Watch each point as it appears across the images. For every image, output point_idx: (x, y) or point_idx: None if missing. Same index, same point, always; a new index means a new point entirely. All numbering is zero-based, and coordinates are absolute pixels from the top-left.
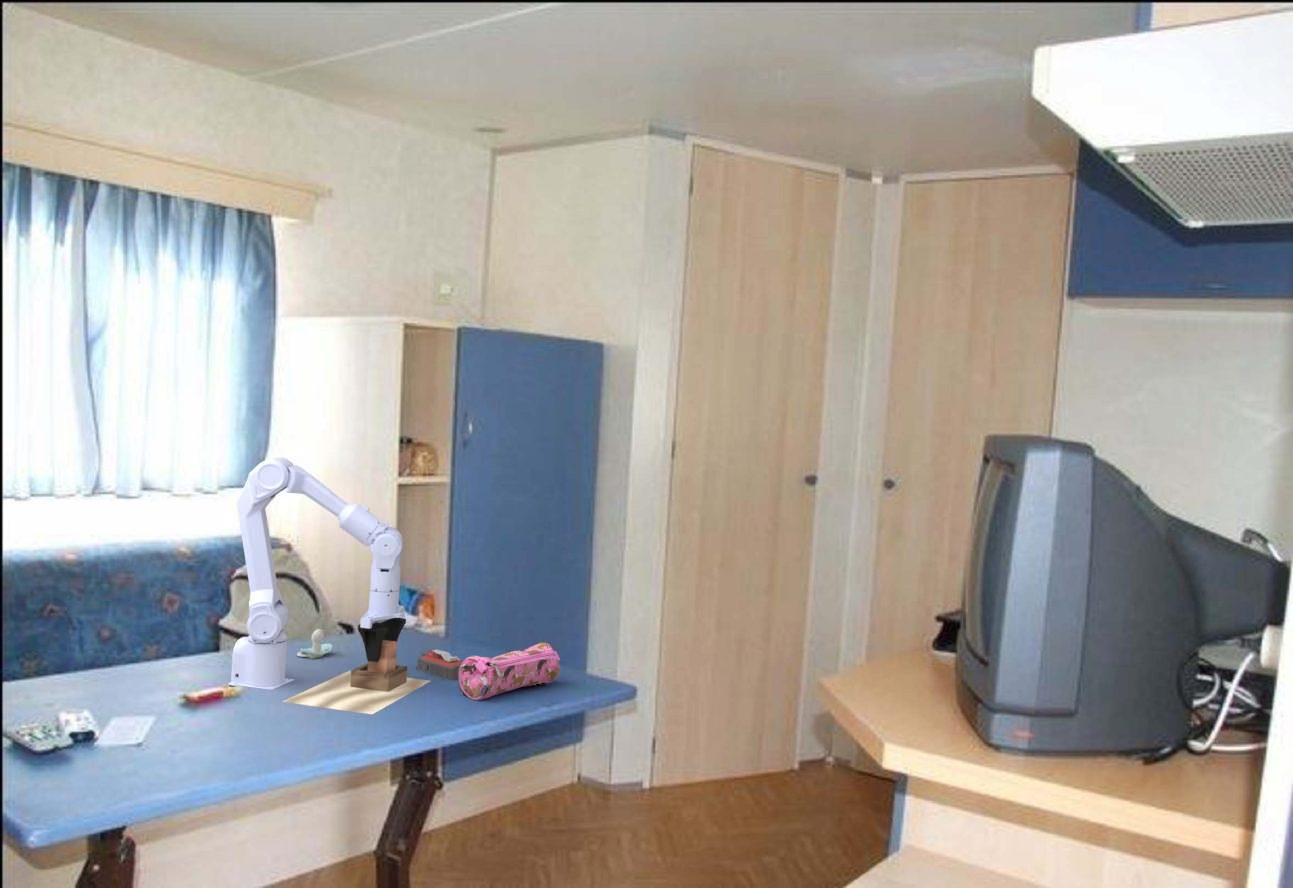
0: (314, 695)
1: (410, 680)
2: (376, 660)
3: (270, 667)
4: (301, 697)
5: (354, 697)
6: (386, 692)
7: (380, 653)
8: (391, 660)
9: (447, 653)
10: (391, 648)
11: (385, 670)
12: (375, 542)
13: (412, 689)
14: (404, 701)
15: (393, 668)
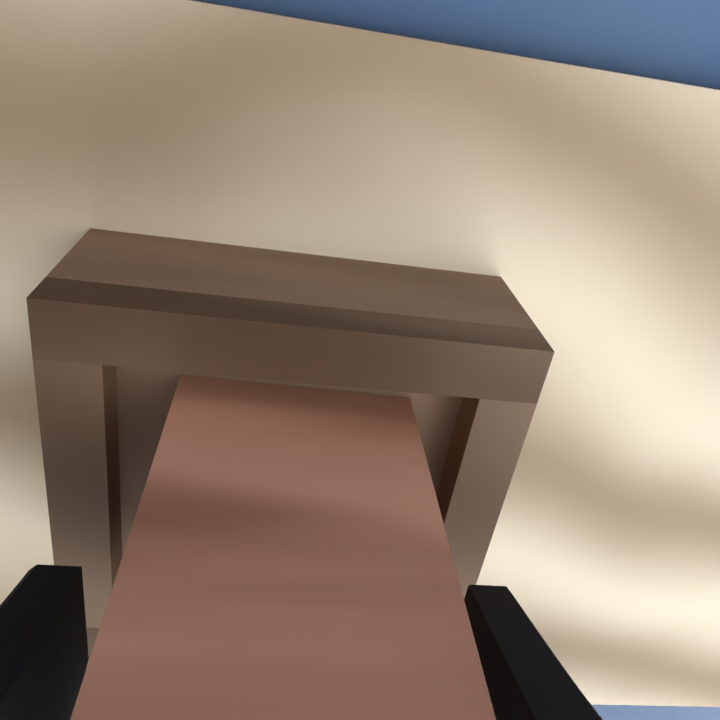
0: (664, 642)
1: (10, 206)
2: (516, 606)
3: None
4: (710, 673)
5: (695, 448)
6: (523, 282)
7: (506, 664)
8: (300, 487)
9: None
10: (322, 643)
11: (416, 442)
12: None
13: (349, 67)
14: (684, 41)
15: (233, 406)
